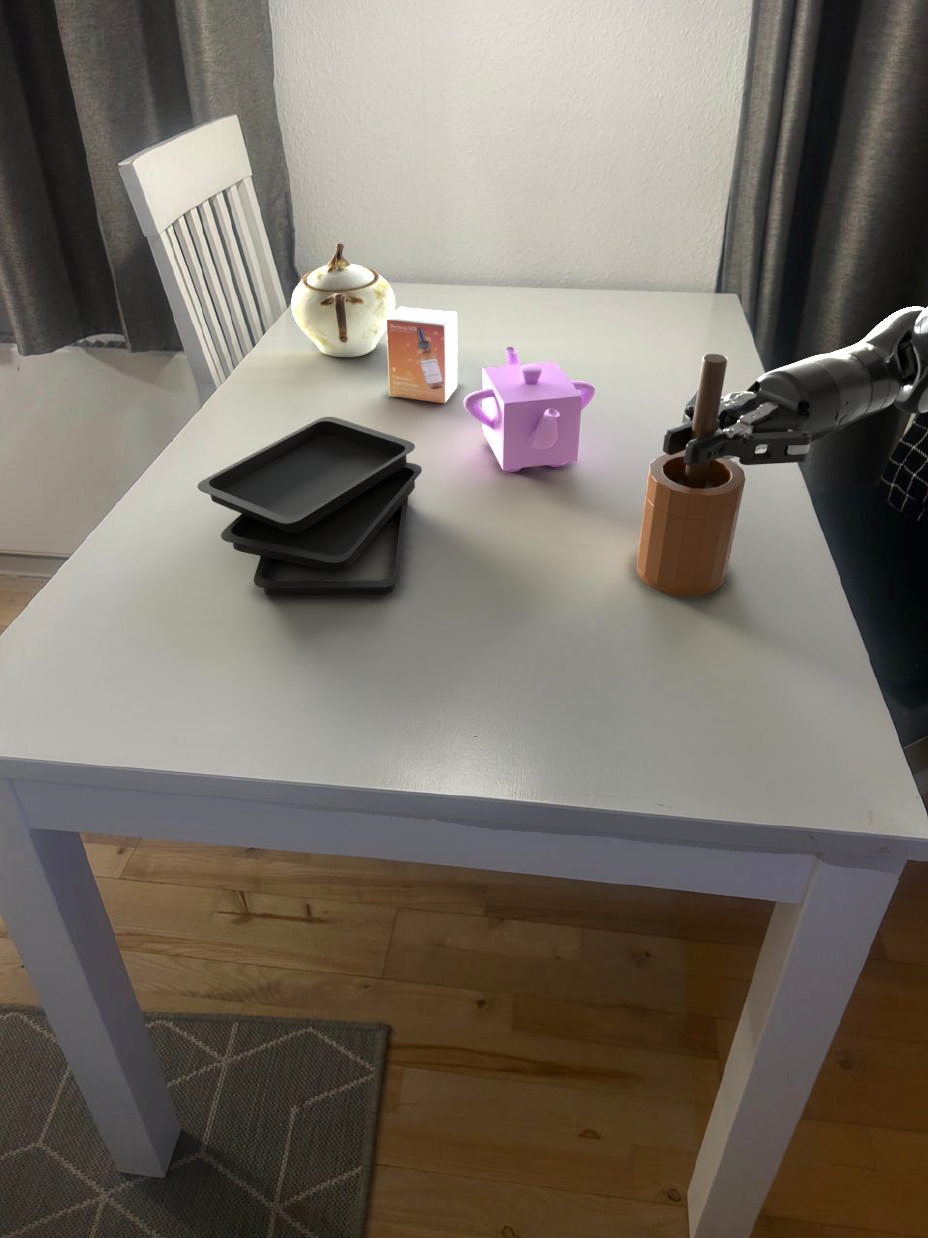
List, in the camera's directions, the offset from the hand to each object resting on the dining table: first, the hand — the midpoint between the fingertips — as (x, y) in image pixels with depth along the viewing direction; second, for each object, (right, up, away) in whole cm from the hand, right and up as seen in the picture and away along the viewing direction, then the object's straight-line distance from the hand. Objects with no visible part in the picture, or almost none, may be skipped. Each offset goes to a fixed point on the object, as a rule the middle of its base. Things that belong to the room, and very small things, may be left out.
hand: (677, 449), depth 79 cm
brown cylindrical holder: (+3, -10, +10) cm, 14 cm away
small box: (-24, +16, +44) cm, 52 cm away
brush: (+3, -7, +8) cm, 11 cm away
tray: (-34, -5, +17) cm, 38 cm away
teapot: (-11, +5, +29) cm, 32 cm away
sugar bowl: (-36, +26, +57) cm, 72 cm away
